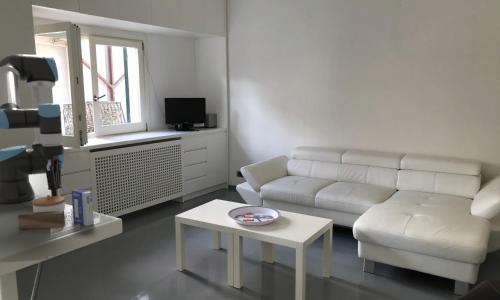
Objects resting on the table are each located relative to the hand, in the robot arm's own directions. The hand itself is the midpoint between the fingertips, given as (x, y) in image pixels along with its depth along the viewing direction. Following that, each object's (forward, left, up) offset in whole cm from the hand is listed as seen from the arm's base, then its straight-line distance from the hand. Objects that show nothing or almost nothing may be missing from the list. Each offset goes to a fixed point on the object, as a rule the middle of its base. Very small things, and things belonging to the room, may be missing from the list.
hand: (56, 205), depth 154 cm
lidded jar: (+7, 0, -4) cm, 8 cm away
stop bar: (+15, 0, -4) cm, 16 cm away
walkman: (+13, +13, -4) cm, 19 cm away
